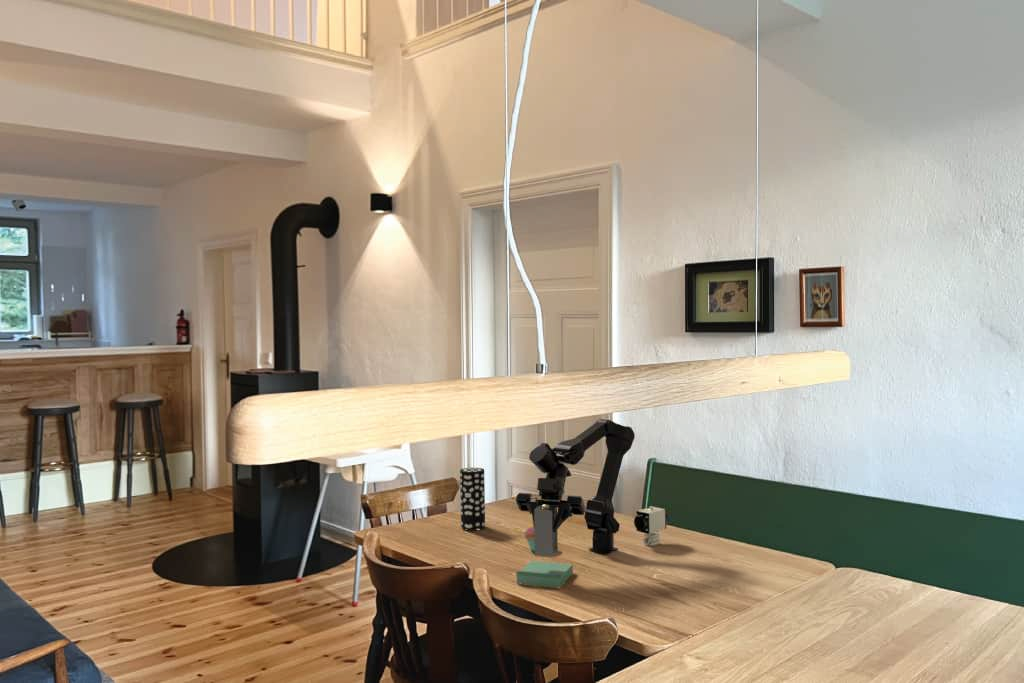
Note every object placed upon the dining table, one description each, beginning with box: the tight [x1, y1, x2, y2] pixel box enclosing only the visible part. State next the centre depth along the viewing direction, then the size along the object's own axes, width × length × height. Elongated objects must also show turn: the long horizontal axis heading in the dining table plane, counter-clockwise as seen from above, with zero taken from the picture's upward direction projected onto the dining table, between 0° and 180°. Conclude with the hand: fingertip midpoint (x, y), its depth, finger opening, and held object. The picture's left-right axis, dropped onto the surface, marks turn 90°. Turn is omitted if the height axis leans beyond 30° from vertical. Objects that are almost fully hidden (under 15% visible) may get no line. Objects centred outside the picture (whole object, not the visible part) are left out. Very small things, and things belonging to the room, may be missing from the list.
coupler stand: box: [516, 560, 574, 589], centre depth 210 cm, size 13×12×4 cm
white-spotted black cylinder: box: [459, 467, 486, 530], centre depth 265 cm, size 8×8×20 cm
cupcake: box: [523, 514, 535, 552], centre depth 238 cm, size 9×8×12 cm
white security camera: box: [633, 505, 670, 547], centre depth 241 cm, size 6×12×12 cm, turn 130°
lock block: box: [534, 504, 559, 558], centre depth 210 cm, size 5×5×13 cm
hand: (544, 530), depth 209 cm, fingers closed on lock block, 5 cm apart
